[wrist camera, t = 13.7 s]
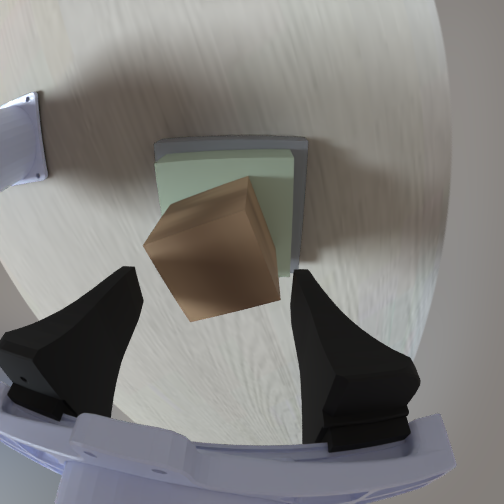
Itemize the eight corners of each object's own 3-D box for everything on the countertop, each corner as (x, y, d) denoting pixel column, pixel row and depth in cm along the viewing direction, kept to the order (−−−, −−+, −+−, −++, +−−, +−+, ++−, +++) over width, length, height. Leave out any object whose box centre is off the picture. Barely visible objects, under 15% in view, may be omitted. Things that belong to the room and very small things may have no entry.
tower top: (181, 257, 22) (173, 276, 20) (166, 154, 18) (154, 163, 16) (286, 257, 22) (289, 276, 20) (289, 149, 18) (294, 157, 16)
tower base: (177, 254, 25) (170, 270, 23) (164, 137, 20) (153, 143, 18) (294, 256, 25) (297, 273, 23) (303, 135, 20) (308, 141, 17)
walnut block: (203, 269, 20) (190, 322, 15) (170, 204, 17) (143, 245, 13) (275, 248, 19) (280, 299, 14) (248, 175, 16) (244, 210, 12)
